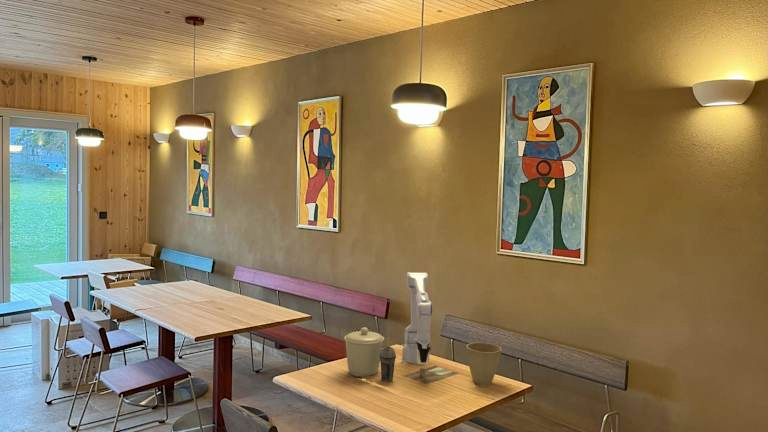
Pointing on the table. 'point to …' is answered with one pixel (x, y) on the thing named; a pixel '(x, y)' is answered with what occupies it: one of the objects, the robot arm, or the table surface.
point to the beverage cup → (387, 362)
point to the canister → (363, 352)
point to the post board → (430, 374)
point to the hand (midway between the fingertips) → (422, 360)
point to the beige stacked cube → (420, 360)
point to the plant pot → (483, 362)
